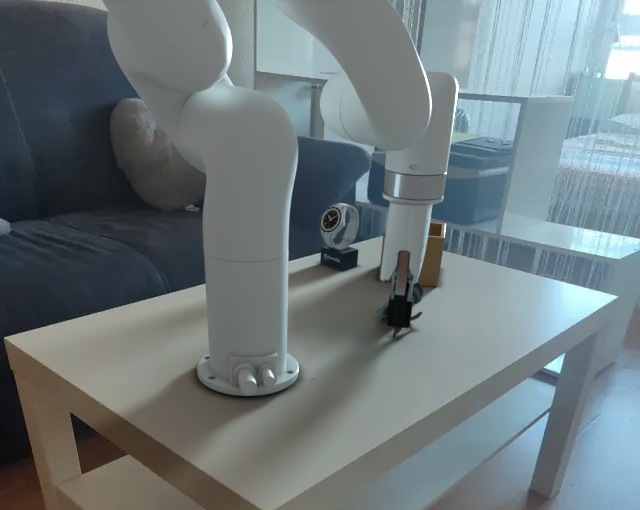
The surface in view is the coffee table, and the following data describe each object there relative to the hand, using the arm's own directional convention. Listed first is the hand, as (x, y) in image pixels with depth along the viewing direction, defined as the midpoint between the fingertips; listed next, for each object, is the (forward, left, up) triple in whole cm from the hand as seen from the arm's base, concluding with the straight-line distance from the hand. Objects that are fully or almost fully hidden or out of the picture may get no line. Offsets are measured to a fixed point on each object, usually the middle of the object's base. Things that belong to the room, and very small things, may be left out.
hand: (398, 324), depth 87 cm
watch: (+36, -1, -3) cm, 36 cm away
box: (+29, -13, -3) cm, 32 cm away
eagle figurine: (+6, -2, -3) cm, 7 cm away
